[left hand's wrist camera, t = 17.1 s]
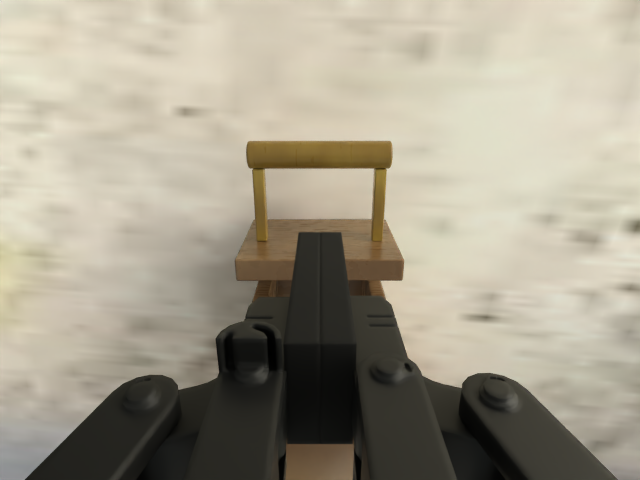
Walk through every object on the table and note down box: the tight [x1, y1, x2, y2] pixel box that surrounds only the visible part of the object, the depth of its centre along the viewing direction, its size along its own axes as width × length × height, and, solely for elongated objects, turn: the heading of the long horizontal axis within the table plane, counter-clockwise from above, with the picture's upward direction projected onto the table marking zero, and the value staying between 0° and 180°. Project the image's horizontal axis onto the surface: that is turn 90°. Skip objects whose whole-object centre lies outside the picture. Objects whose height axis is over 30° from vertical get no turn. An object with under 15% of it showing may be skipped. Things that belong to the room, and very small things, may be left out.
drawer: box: [235, 141, 404, 303], centre depth 27 cm, size 25×9×6 cm, turn 0°
